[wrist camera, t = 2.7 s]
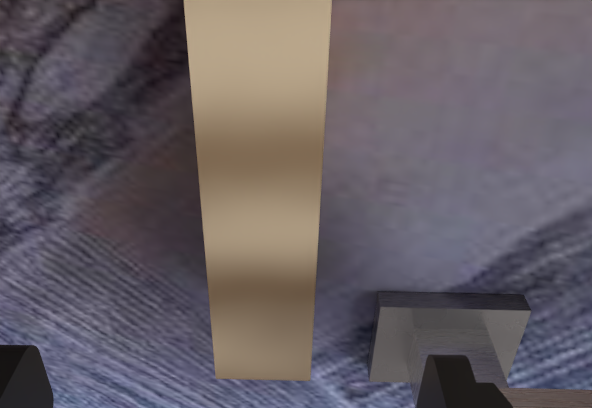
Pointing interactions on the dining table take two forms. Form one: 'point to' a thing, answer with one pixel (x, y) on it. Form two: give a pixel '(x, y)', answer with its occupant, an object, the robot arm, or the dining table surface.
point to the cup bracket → (457, 342)
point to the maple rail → (260, 175)
